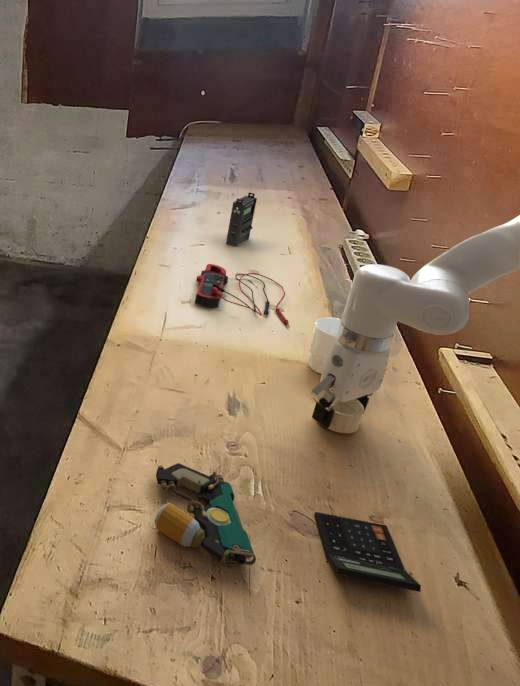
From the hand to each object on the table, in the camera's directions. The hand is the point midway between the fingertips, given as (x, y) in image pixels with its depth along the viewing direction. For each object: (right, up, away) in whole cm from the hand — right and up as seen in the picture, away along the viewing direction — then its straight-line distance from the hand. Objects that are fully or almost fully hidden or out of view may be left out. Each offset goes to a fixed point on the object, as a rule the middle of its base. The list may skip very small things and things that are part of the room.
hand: (337, 416), depth 103 cm
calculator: (-12, -14, -24) cm, 30 cm away
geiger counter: (+17, +36, +76) cm, 85 cm away
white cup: (+7, +6, +16) cm, 18 cm away
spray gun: (-32, -11, -17) cm, 38 cm away
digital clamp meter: (+3, +20, +44) cm, 48 cm away
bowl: (0, -1, +1) cm, 2 cm away
